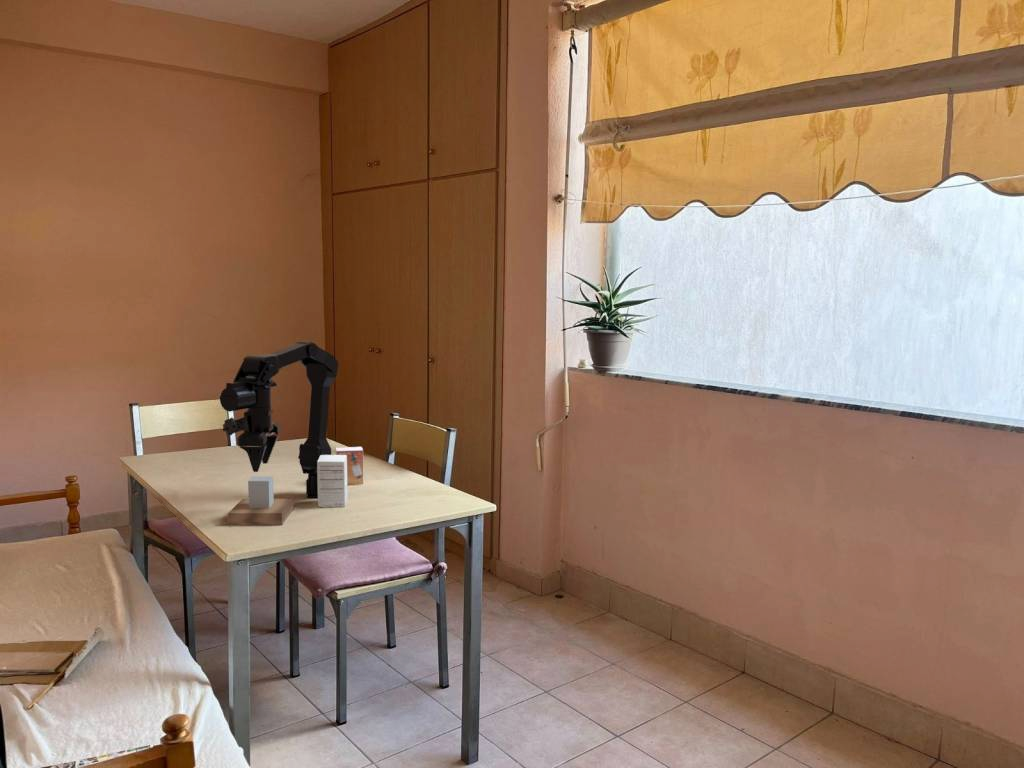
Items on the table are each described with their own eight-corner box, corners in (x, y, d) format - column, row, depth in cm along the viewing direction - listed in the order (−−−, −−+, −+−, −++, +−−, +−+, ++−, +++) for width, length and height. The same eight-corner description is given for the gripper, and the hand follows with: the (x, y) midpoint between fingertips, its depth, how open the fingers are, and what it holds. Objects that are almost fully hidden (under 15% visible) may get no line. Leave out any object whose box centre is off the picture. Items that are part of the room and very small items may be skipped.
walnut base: (293, 509, 206) (293, 498, 206) (282, 524, 194) (281, 513, 193) (242, 510, 206) (242, 498, 205) (228, 525, 193) (227, 513, 192)
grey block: (273, 502, 202) (273, 476, 201) (269, 508, 197) (268, 481, 196) (253, 503, 202) (253, 476, 201) (248, 508, 197) (248, 481, 196)
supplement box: (320, 499, 216) (320, 454, 214) (348, 499, 217) (347, 454, 215) (317, 507, 209) (316, 461, 207) (345, 507, 210) (344, 461, 208)
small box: (336, 486, 232) (335, 450, 230) (335, 481, 237) (334, 447, 236) (363, 484, 234) (363, 449, 232) (362, 480, 239) (361, 446, 238)
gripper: (236, 400, 205) (238, 459, 207) (214, 411, 186) (216, 476, 188) (280, 400, 205) (281, 459, 207) (262, 412, 187) (263, 476, 189)
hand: (260, 467), depth 198 cm, fingers open, 9 cm apart
